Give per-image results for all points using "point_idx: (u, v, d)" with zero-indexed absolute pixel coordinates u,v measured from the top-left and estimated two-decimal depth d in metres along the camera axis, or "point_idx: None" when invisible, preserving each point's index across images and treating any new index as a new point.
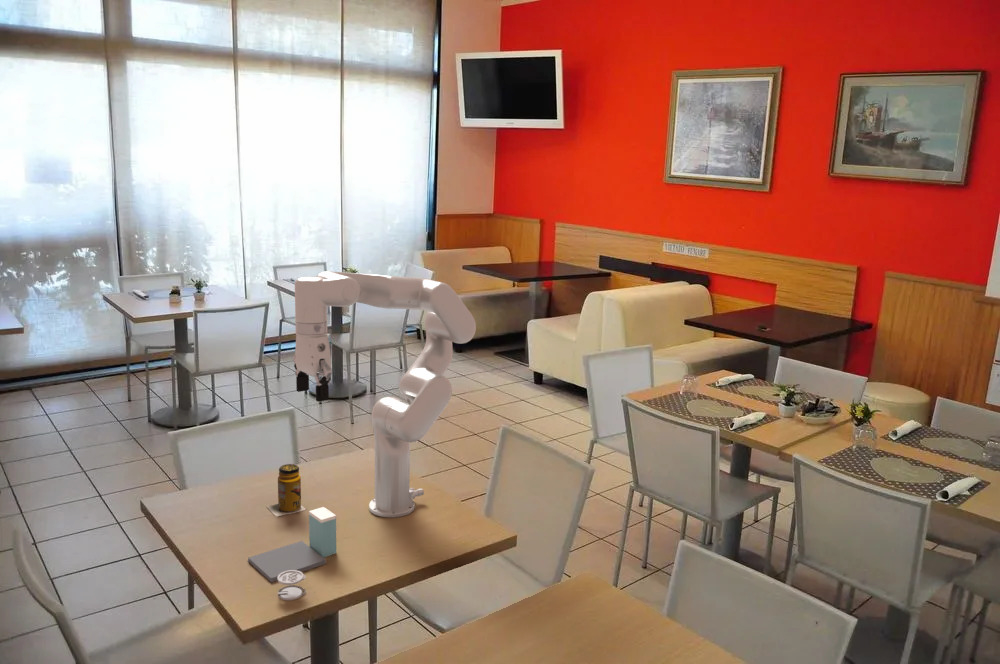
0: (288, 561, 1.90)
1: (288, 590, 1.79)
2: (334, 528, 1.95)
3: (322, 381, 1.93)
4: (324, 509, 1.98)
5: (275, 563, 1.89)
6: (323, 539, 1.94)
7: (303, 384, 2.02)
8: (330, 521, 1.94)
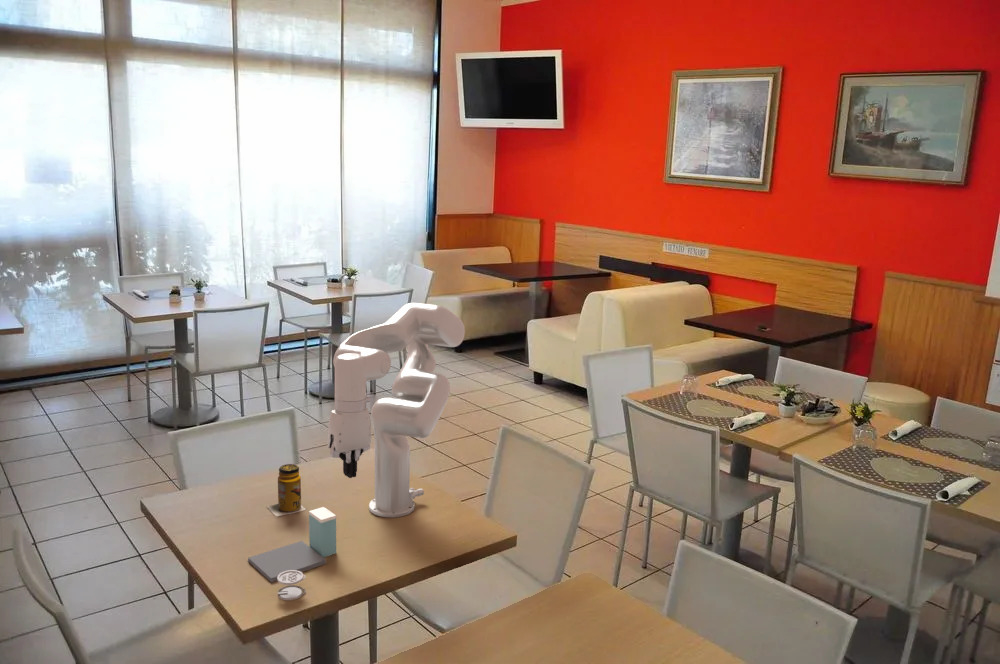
0: (288, 561, 1.90)
1: (288, 590, 1.79)
2: (334, 528, 1.95)
3: None
4: (324, 509, 1.98)
5: (275, 563, 1.89)
6: (323, 539, 1.94)
7: None
8: (330, 521, 1.94)
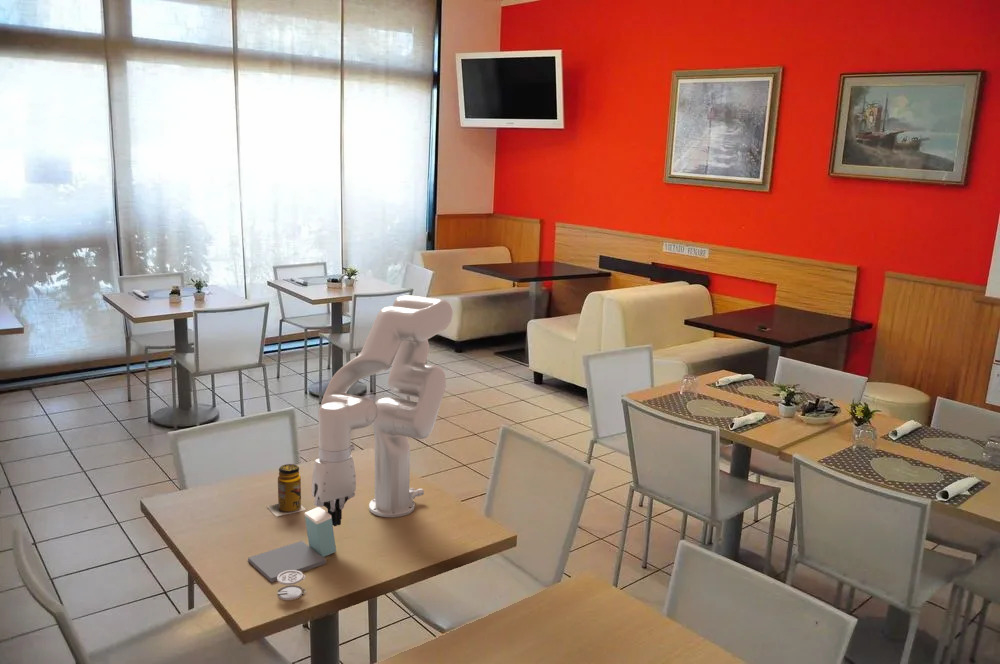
0: (288, 561, 1.90)
1: (287, 590, 1.79)
2: (331, 527, 1.94)
3: None
4: (319, 509, 1.97)
5: (275, 563, 1.89)
6: (321, 540, 1.93)
7: None
8: (326, 521, 1.93)
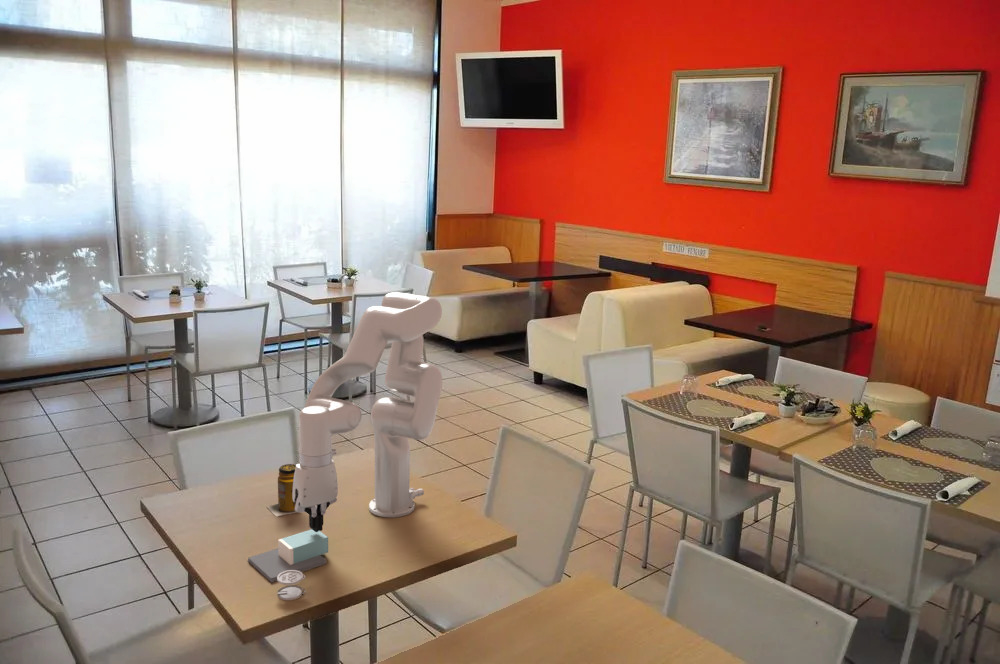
0: None
1: (287, 590, 1.79)
2: (302, 546, 1.90)
3: (325, 507, 1.95)
4: (281, 544, 1.91)
5: (275, 563, 1.89)
6: (310, 555, 1.92)
7: None
8: (294, 553, 1.89)
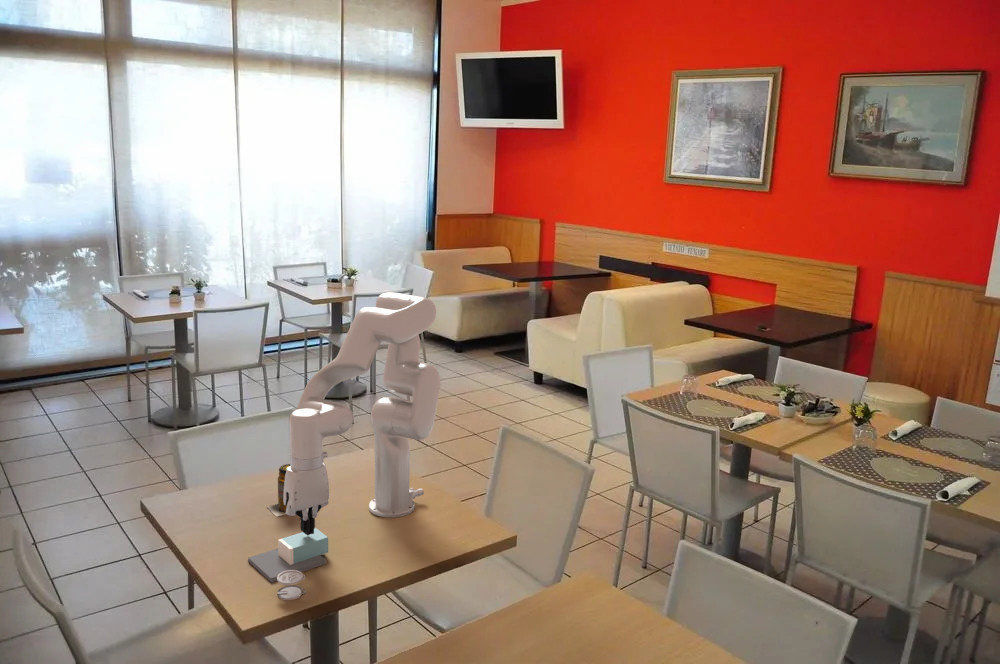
0: None
1: (287, 590, 1.79)
2: (302, 546, 1.90)
3: (317, 510, 1.93)
4: (281, 544, 1.91)
5: (275, 563, 1.89)
6: (310, 555, 1.92)
7: None
8: (294, 553, 1.89)
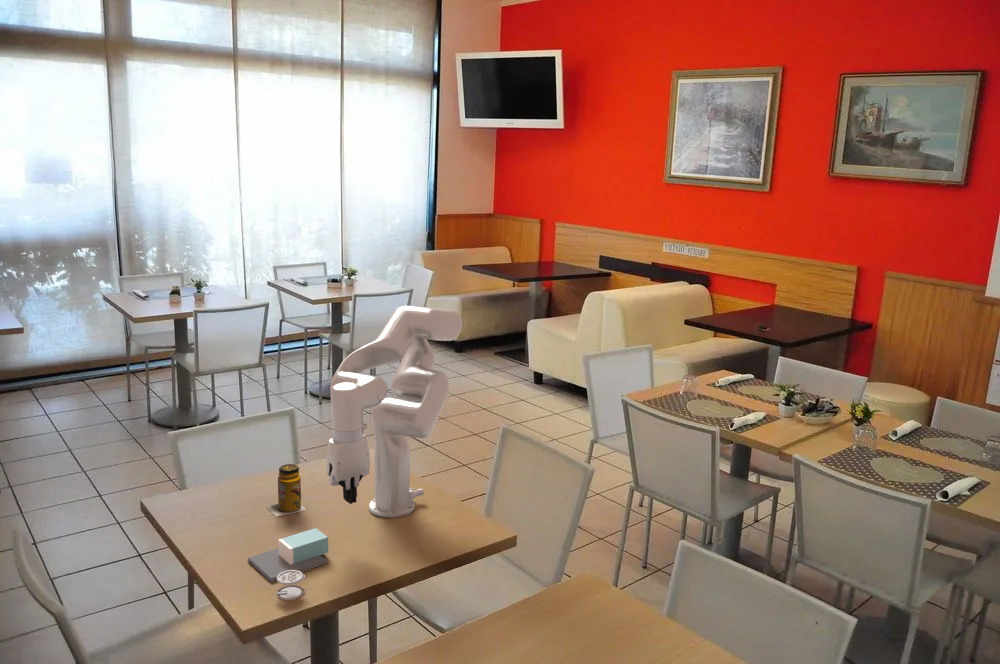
0: None
1: (287, 590, 1.79)
2: (302, 546, 1.90)
3: (358, 480, 2.00)
4: (281, 544, 1.91)
5: (275, 563, 1.89)
6: (310, 555, 1.92)
7: None
8: (294, 553, 1.89)
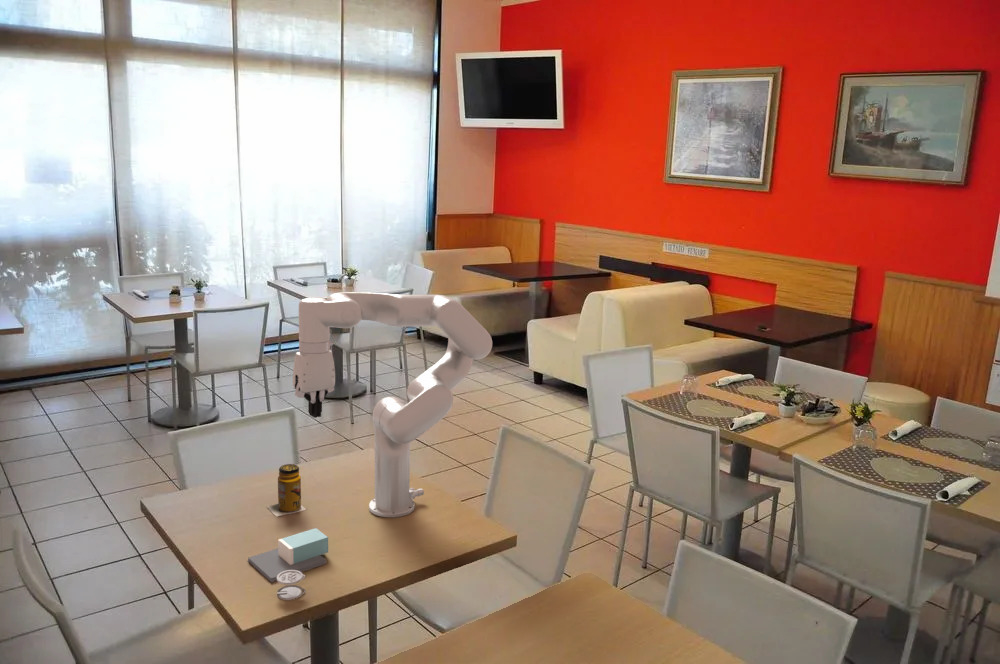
0: None
1: (287, 590, 1.79)
2: (302, 546, 1.90)
3: (324, 395, 2.07)
4: (281, 544, 1.91)
5: (275, 563, 1.89)
6: (310, 555, 1.92)
7: None
8: (294, 553, 1.89)
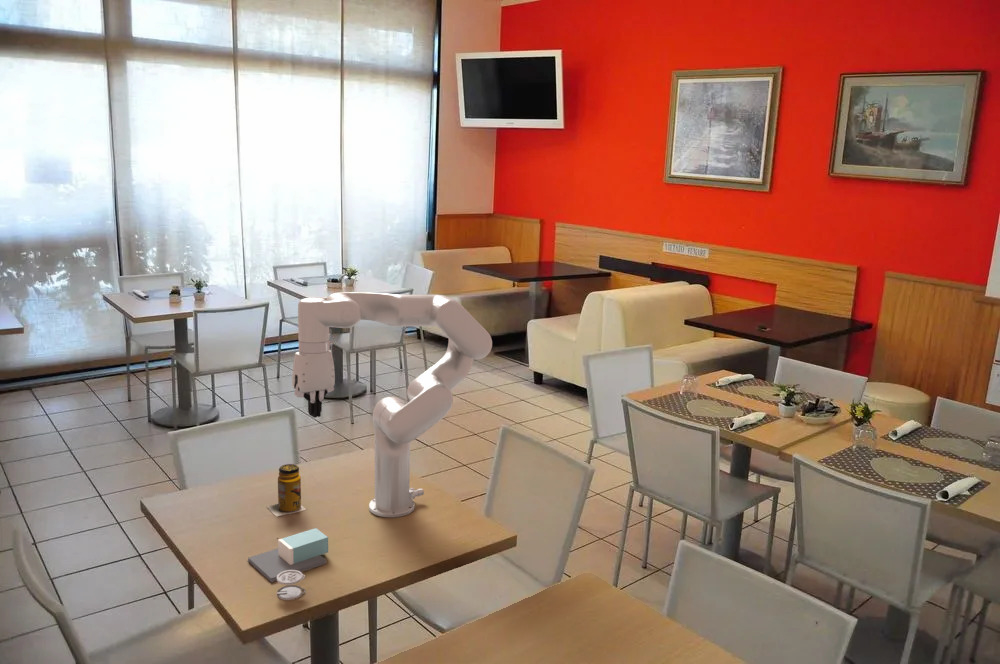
0: None
1: (287, 590, 1.79)
2: (302, 546, 1.90)
3: (323, 395, 2.07)
4: (281, 544, 1.91)
5: (275, 563, 1.89)
6: (310, 555, 1.92)
7: None
8: (294, 553, 1.89)
